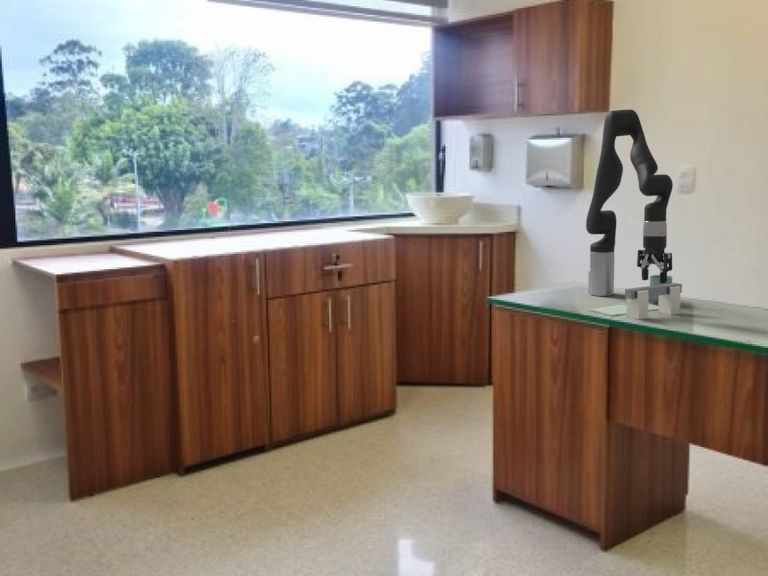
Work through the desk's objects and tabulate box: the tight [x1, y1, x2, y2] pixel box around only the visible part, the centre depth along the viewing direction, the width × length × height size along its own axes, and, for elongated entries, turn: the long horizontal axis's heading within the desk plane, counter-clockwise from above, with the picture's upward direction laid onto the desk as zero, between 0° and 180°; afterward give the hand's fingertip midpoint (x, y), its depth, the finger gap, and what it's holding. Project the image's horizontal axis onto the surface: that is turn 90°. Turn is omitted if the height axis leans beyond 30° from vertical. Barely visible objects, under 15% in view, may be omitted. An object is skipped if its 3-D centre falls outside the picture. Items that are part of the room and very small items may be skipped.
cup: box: [649, 274, 673, 305], centre depth 284 cm, size 8×8×10 cm
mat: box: [588, 303, 658, 317], centre depth 275 cm, size 12×24×1 cm, turn 113°
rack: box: [625, 286, 681, 320], centre depth 264 cm, size 6×18×10 cm, turn 113°
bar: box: [624, 282, 683, 299], centre depth 263 cm, size 3×22×3 cm, turn 113°
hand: (654, 281), depth 262 cm, fingers open, 8 cm apart
